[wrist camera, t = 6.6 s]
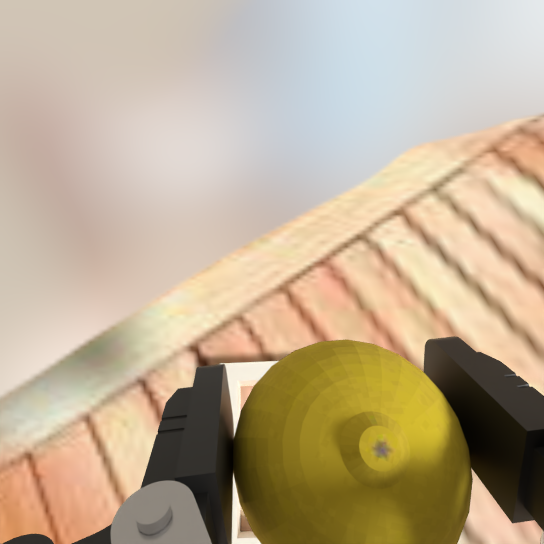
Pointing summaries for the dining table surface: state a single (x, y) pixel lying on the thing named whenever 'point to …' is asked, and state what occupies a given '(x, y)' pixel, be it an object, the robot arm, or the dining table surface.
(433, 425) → the lemon
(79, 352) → the dining table surface
